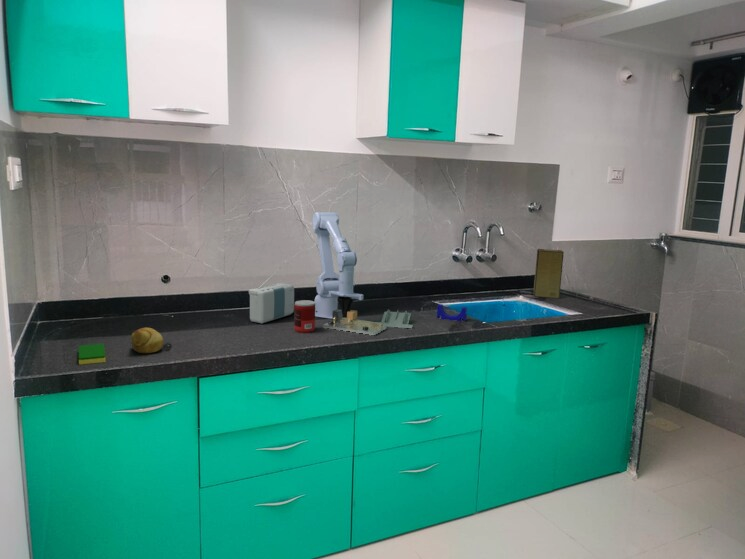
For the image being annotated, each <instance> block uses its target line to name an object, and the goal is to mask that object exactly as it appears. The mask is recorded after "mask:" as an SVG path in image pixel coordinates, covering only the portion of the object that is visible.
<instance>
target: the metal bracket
mask: <svg viewBox="0 0 745 559" xmlns="http://www.w3.org/2000/svg"><path fill="white" fill-rule="evenodd" d="M411 315H412V314H411V312H410V313H409V312H408V311H407V310H405V311H404V312H399V310H397V311H391V309H387V311H384V313H383V315H382V318H381V321H376V322H377V323H383V325H384V326H387V328H394V327H398V329H404V328H411V329H410V330H413V326H414V325H413V324H410V323H409V322H410V318H411Z"/></svg>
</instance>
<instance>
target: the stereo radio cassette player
mask: <svg viewBox="0 0 745 559" xmlns="http://www.w3.org/2000/svg"><path fill="white" fill-rule="evenodd" d="M280 269H281V267H279V268H278V269H277V270H276V271H275V272H273V273H272V274H271V275H270V277H268V278H267V279H266V281H264V282H263V283H262V284H261V285H260V286H259V287H257V288H251V289H248V294H249V320H250V322H252V323H258V324H261V325H263V324H265V323H268V322H271V321H274V320H277V319H281V318H283V317H287V316H290V315H292V314H293V313H294V312H295V287H294V285H293V284H288V283H281V282H277V283H274V284H269V285H265V284H266V283H267V282H269V280H270V279H271V278H272V277H273V276H275V274H276V273H277V272H278V271H279V270H280Z"/></svg>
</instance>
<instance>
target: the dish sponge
mask: <svg viewBox="0 0 745 559" xmlns="http://www.w3.org/2000/svg"><path fill="white" fill-rule="evenodd" d="M105 350H106V349H105V345H104V343H95V344H93V343H92V344H86V345H83V344H82V345H78V365H87V364H88V365H91V364H100V363H106V361H107V360H106V352H105Z"/></svg>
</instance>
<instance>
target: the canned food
mask: <svg viewBox="0 0 745 559" xmlns="http://www.w3.org/2000/svg"><path fill="white" fill-rule="evenodd" d="M314 301H315V300H314ZM314 301H313V300H307V299H306V300H305V299H301V300H296V301H294V321H293V322H294V324H293V325H294V331H295V332H296V333H299V332H300V334H309V333H308V332H310V333H313V332H315V329H316V316H315V302H314Z"/></svg>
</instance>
